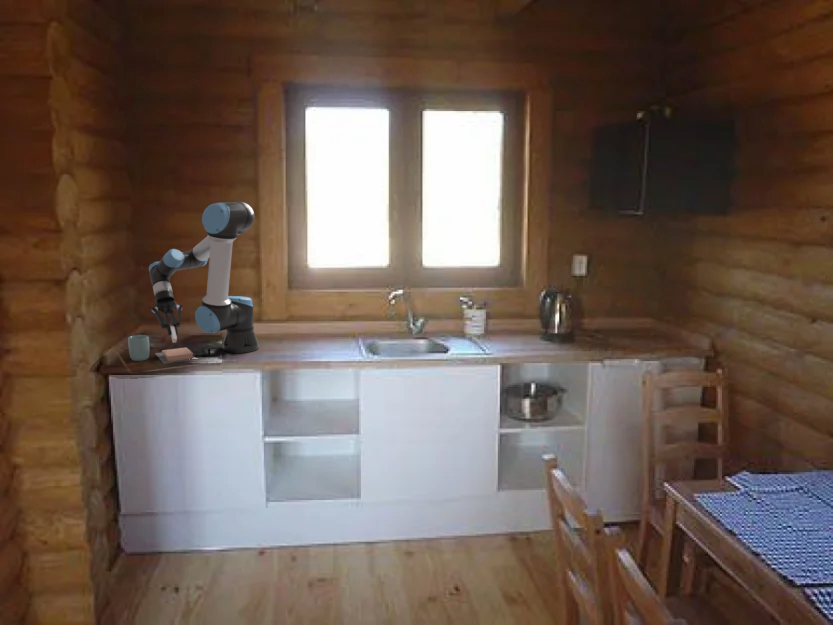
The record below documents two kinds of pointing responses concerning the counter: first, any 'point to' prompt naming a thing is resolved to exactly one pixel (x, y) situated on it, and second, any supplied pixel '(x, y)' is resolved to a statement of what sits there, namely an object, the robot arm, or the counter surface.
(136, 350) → the cup
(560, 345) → the counter surface
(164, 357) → the mat
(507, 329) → the counter surface
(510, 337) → the counter surface
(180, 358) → the tile
